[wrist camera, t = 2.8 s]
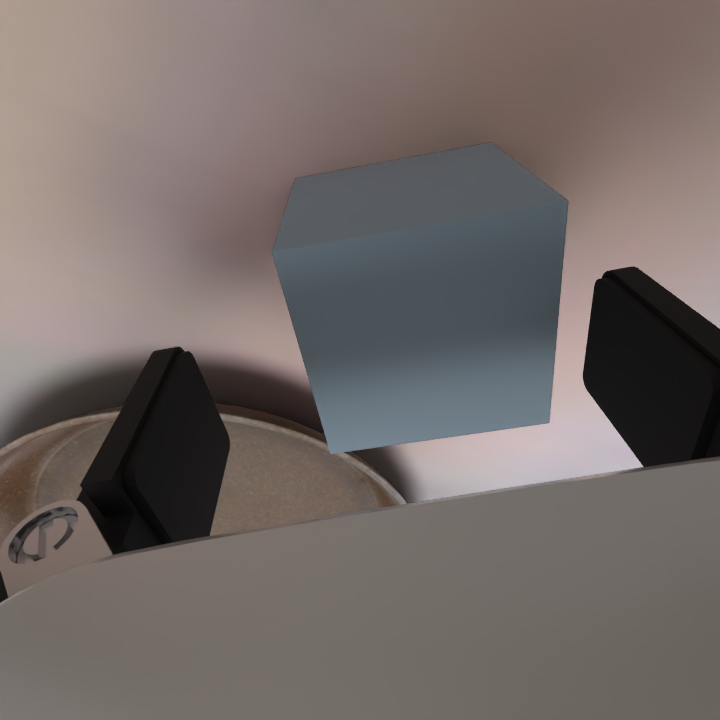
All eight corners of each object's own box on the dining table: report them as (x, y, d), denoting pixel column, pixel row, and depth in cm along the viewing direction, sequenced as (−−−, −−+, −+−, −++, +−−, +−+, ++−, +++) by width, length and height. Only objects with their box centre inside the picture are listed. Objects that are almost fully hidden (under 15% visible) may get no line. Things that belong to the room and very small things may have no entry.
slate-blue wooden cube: (490, 141, 14) (568, 200, 9) (491, 313, 18) (549, 423, 13) (295, 177, 15) (271, 252, 10) (333, 338, 18) (330, 453, 13)
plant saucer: (487, 544, 26) (503, 603, 24) (216, 651, 33) (205, 707, 30) (226, 259, 16) (203, 305, 14) (-91, 493, 23) (-150, 556, 20)
